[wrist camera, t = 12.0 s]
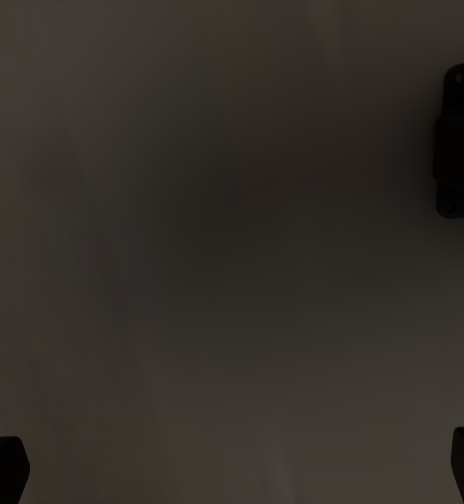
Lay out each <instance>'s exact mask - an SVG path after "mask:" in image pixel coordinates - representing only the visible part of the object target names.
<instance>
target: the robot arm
mask: <svg viewBox="0 0 464 504" xmlns="http://www.w3.org/2000/svg"><path fill="white" fill-rule="evenodd" d="M459 71H461V72H462V73H463V74H464V64H459V65H455V66H453V67H452V68H450V69H449V71H448V72H447V74H446V77H445V87H444V102H443V114H442V115H440V117H439V118H438V119H437V120H436V133H435V148H434V164H433V177H434V178H435V179H436V180H437V181H438V191H437V205H436V208H437V212H438V213H439V214H440V215H441V216H443V217H445V218H448V219H454V218H464V79H463V81H462V82H461V83H457V82H456V80H455V77H456V74H457V73H458V72H459ZM449 203H453V205H454V206H453V208H452V209H451V210H450V211H446V209H445V208H446V206H447V205H448V204H449ZM451 467H452V471H453V474H454V477H455V480H456V483H457V486H458V489H459V491H460V494H461V497H462V500H463V503H464V427H457V428H455V430H454V433H453V441H452V451H451ZM29 473H30V464H29V460H28V458H27V455H26V452H25V449H24V446H23V443H22V441H21V439H20V438H19V437H17V436H3V437H0V504H18V503H19V500H20V498H21V495H22V493H23V490H24V488H25V485H26V483H27V480H28V477H29Z"/></svg>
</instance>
